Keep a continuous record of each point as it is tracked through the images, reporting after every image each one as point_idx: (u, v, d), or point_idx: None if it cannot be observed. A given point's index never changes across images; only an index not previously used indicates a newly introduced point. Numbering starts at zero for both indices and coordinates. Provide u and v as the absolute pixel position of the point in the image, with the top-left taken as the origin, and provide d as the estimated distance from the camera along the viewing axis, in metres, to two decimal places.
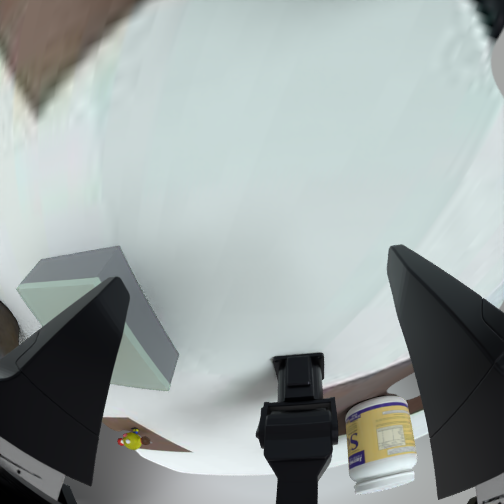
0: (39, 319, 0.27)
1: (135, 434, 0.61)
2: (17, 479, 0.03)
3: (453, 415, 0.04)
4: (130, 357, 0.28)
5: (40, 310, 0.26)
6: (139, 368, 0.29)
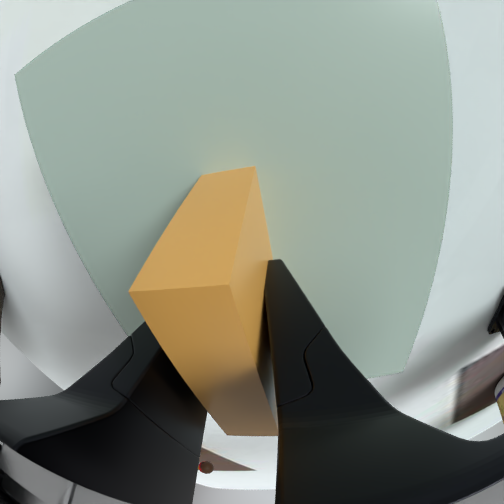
0: (56, 183, 0.08)
1: None
2: None
3: None
4: (398, 275, 0.10)
5: (74, 127, 0.07)
6: (391, 315, 0.11)
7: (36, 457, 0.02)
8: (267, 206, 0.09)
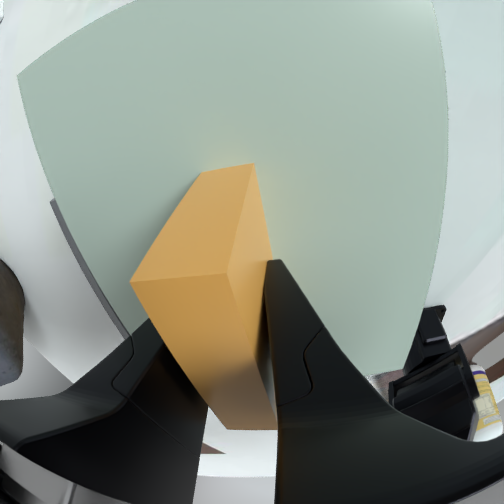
0: (58, 181, 0.09)
1: None
2: None
3: None
4: (396, 271, 0.10)
5: (76, 127, 0.07)
6: (390, 311, 0.11)
7: (36, 457, 0.02)
8: (266, 202, 0.09)
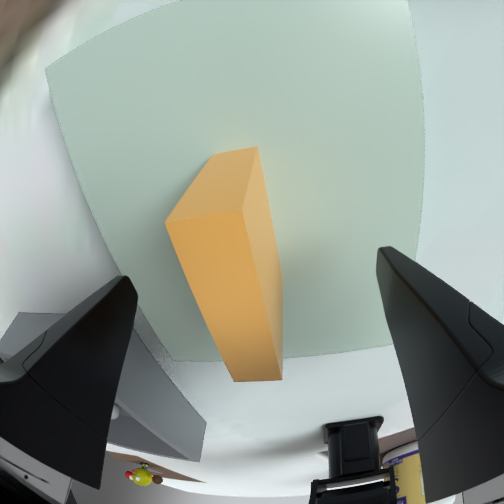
0: (82, 164, 0.10)
1: (145, 469, 0.51)
2: (25, 485, 0.03)
3: (439, 420, 0.04)
4: (384, 243, 0.11)
5: (102, 115, 0.09)
6: None
7: None
8: (268, 180, 0.10)
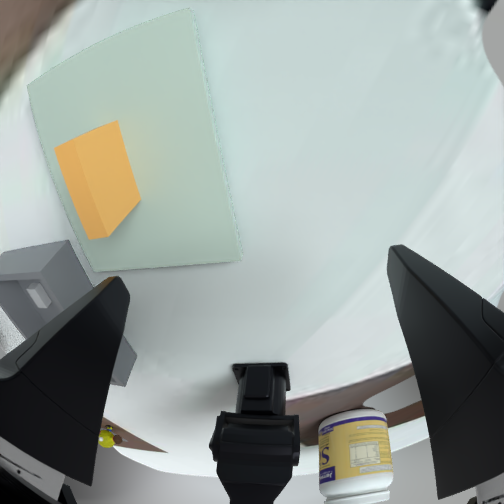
0: (43, 136, 0.16)
1: (108, 431, 0.57)
2: (17, 479, 0.03)
3: (452, 415, 0.04)
4: (195, 170, 0.18)
5: (53, 110, 0.15)
6: (203, 200, 0.19)
7: None
8: (123, 137, 0.17)
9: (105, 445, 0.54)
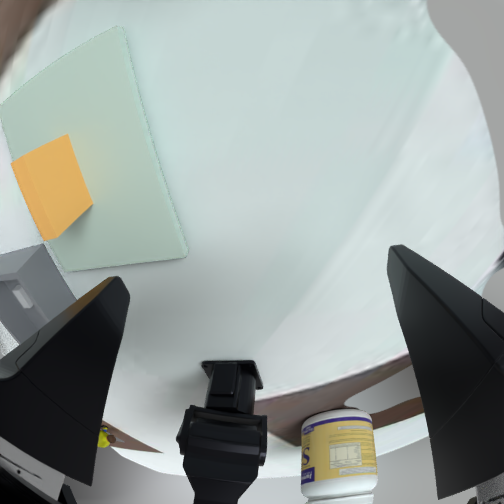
0: (13, 151, 0.17)
1: (103, 431, 0.58)
2: (17, 479, 0.03)
3: (452, 415, 0.04)
4: (133, 173, 0.18)
5: (19, 128, 0.16)
6: (144, 201, 0.19)
7: None
8: (74, 148, 0.17)
9: (100, 445, 0.55)
